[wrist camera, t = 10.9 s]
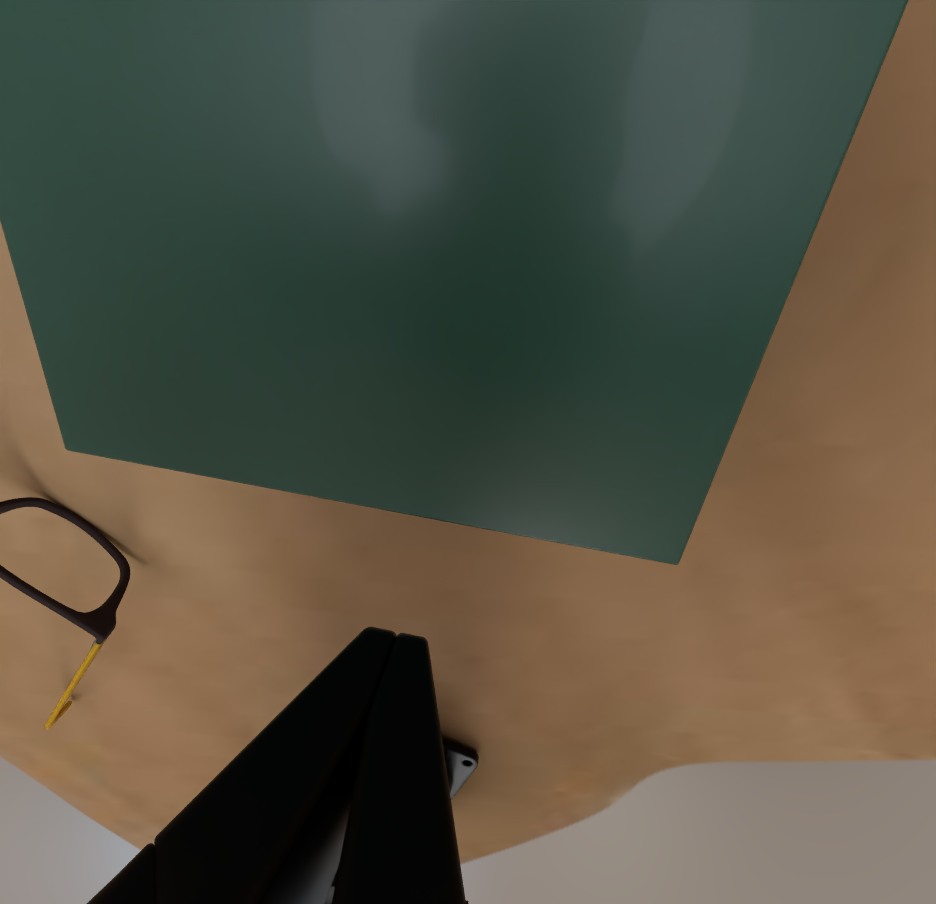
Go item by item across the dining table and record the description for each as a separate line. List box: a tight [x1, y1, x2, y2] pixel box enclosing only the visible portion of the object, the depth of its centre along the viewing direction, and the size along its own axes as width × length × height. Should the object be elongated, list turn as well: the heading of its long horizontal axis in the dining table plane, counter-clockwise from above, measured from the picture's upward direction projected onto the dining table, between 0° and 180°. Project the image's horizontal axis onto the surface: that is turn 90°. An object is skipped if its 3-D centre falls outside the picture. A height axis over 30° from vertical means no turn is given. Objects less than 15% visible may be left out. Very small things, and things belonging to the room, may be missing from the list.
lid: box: [0, 0, 908, 565], centre depth 8 cm, size 15×13×1 cm
